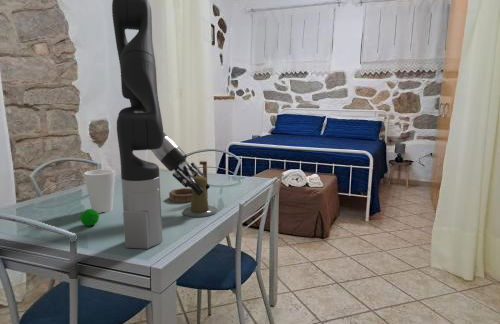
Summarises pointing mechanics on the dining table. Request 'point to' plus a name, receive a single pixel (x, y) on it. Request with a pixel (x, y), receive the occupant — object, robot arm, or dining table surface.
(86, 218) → the polyhedron
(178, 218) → the dining table surface
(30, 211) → the dining table surface
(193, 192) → the cork
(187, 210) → the slate coaster
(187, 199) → the ring stand
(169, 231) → the dining table surface
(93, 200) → the foam cup
